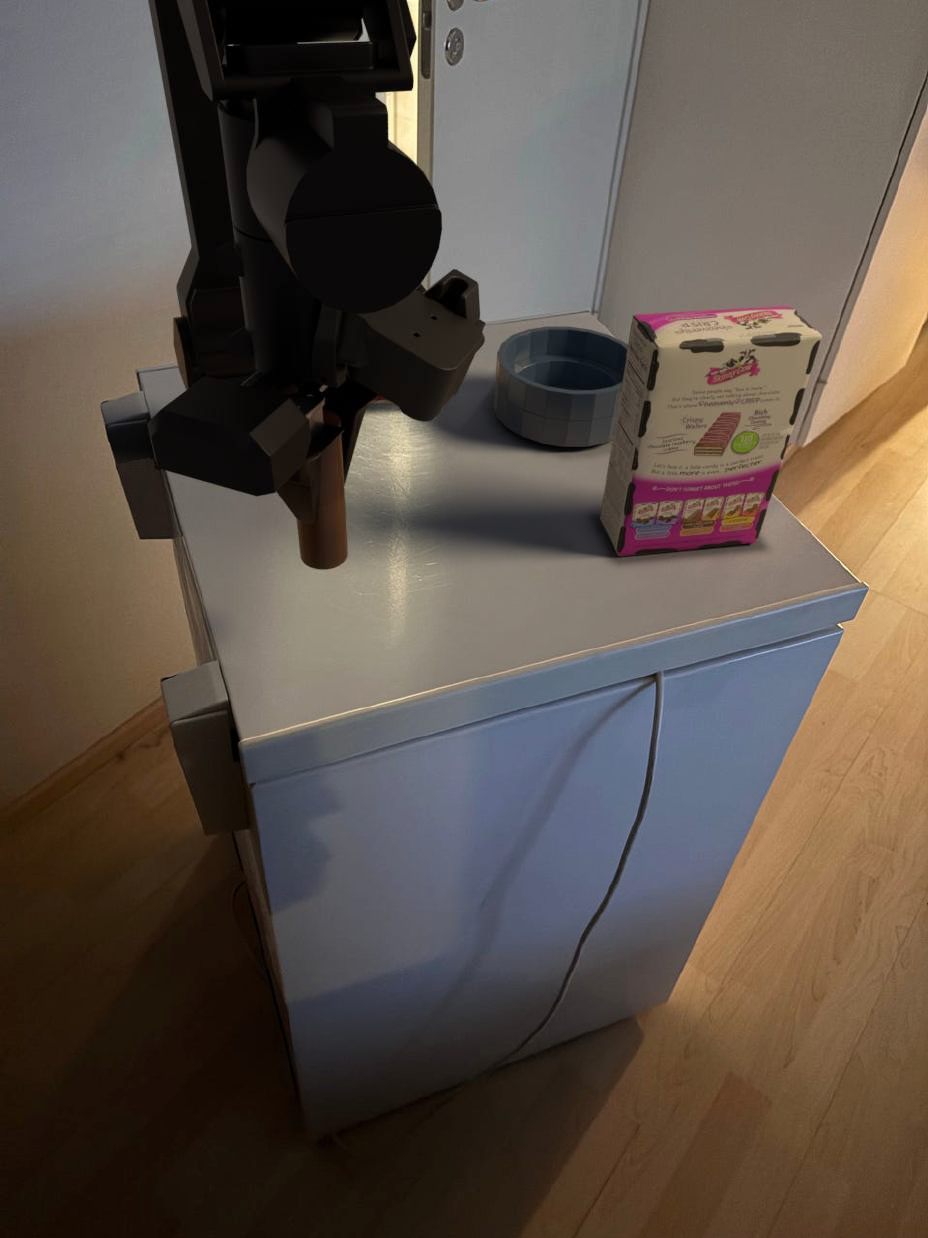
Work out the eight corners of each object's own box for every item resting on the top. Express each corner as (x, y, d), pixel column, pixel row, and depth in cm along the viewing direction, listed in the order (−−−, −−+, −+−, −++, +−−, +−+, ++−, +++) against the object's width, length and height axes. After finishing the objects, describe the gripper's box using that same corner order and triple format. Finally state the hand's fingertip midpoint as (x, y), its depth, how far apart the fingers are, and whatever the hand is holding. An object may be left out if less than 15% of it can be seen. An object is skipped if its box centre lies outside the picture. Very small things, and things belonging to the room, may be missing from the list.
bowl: (531, 464, 73) (538, 404, 69) (471, 394, 81) (474, 337, 77) (657, 438, 77) (670, 379, 73) (588, 373, 85) (596, 318, 81)
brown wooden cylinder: (308, 574, 51) (294, 438, 45) (294, 546, 53) (280, 412, 47) (354, 564, 52) (347, 429, 46) (339, 536, 54) (331, 403, 48)
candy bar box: (730, 506, 70) (792, 302, 59) (757, 545, 66) (829, 336, 55) (594, 517, 68) (631, 309, 57) (614, 558, 64) (658, 344, 53)
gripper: (366, 342, 31) (376, 654, 42) (534, 190, 44) (509, 458, 55) (104, 282, 34) (176, 589, 45) (334, 155, 47) (347, 417, 58)
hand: (320, 506), depth 50 cm, fingers closed on brown wooden cylinder, 3 cm apart
